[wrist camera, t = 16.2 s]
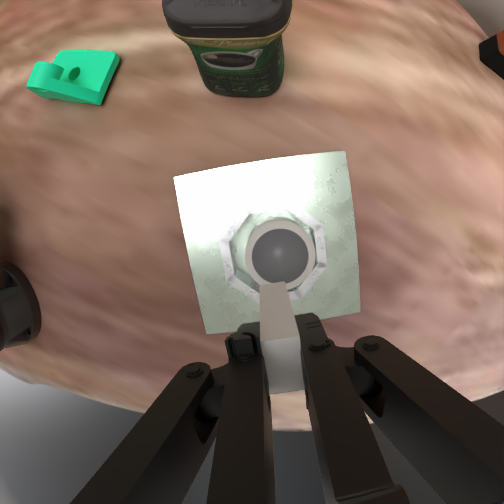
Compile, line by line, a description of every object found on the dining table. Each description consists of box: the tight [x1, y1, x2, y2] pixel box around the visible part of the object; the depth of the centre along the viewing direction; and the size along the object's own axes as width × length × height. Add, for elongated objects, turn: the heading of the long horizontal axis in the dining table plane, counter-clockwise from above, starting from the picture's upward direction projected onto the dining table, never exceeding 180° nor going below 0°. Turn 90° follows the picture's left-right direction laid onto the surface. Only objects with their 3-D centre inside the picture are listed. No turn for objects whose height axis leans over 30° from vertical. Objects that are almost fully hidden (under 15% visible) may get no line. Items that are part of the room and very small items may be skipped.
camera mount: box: [26, 50, 120, 105], centre depth 25 cm, size 12×8×10 cm, turn 70°
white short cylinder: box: [245, 216, 315, 290], centre depth 31 cm, size 7×7×5 cm
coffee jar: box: [162, 0, 293, 97], centre depth 21 cm, size 10×8×19 cm
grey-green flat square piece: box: [174, 151, 360, 334], centre depth 32 cm, size 20×20×4 cm
